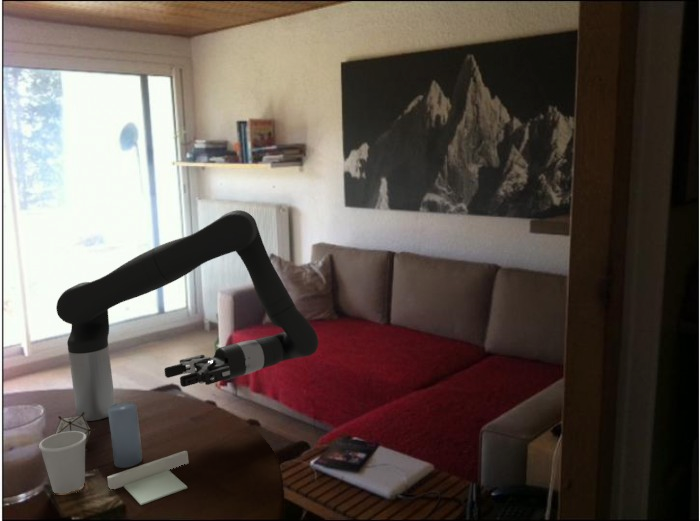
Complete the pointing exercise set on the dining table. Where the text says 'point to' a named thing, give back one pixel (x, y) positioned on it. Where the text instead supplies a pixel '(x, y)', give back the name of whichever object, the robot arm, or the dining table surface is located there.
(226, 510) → the dining table surface
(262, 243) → the robot arm
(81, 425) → the grey faceted polyhedron
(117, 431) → the pale blue cylinder
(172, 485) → the coaster
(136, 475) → the white long bar
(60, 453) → the dixie cup
